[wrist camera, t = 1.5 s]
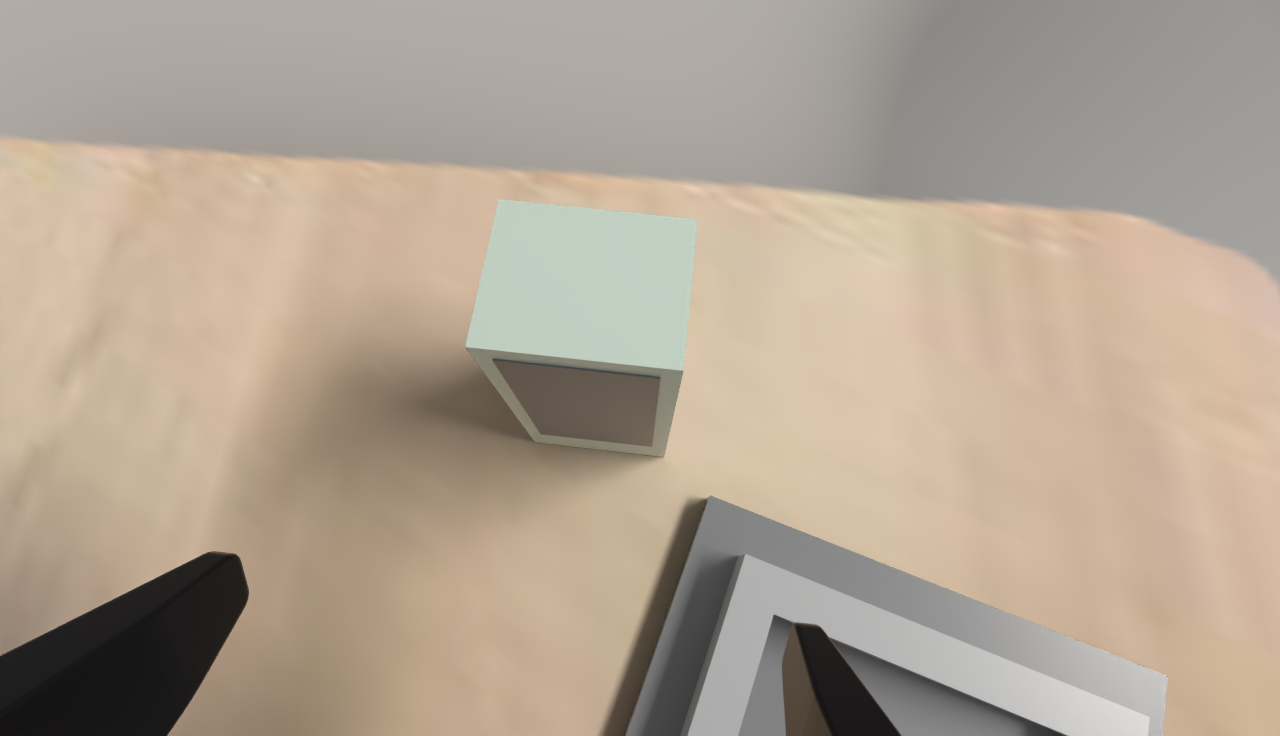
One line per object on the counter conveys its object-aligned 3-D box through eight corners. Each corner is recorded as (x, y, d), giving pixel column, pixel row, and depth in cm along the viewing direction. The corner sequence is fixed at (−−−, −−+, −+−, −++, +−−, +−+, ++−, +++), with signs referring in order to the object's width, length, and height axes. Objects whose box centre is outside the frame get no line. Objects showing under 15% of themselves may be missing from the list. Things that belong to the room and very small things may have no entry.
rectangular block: (663, 458, 23) (683, 372, 13) (534, 443, 23) (464, 349, 14) (673, 360, 24) (697, 219, 15) (551, 346, 24) (499, 199, 15)
